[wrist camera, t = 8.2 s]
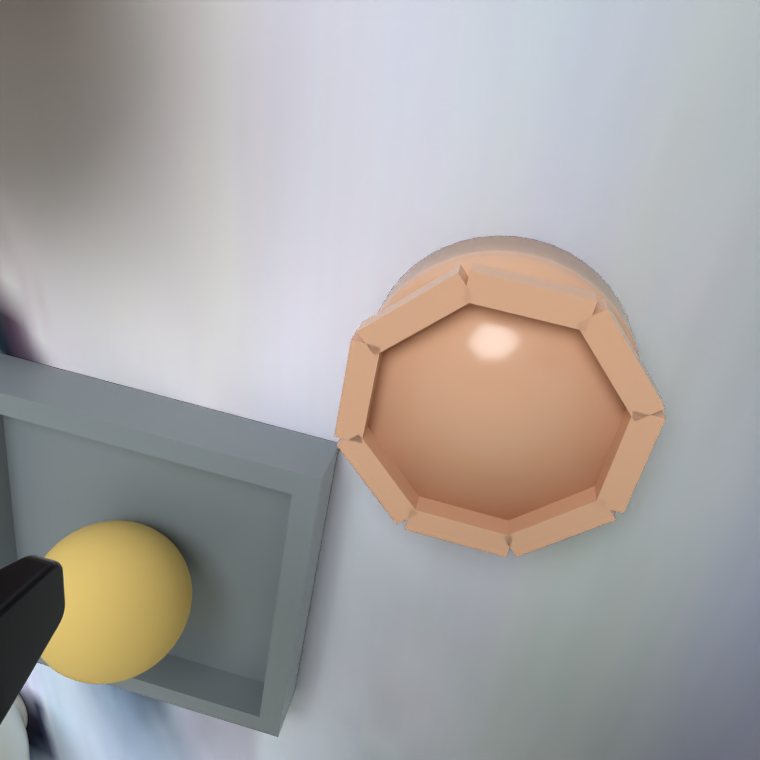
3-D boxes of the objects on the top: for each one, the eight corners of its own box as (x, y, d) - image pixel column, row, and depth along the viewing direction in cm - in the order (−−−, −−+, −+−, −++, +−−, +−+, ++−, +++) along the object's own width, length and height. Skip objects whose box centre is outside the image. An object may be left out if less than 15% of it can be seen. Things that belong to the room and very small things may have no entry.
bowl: (676, 272, 17) (706, 327, 14) (584, 497, 21) (593, 581, 18) (396, 207, 18) (367, 246, 15) (353, 436, 22) (322, 506, 18)
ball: (219, 510, 23) (151, 625, 19) (210, 614, 26) (148, 737, 21) (78, 474, 24) (-21, 578, 19) (83, 580, 26) (-4, 694, 22)
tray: (339, 443, 22) (321, 479, 20) (294, 691, 28) (277, 736, 26) (-13, 349, 23) (-59, 376, 21) (15, 607, 29) (-19, 645, 27)
